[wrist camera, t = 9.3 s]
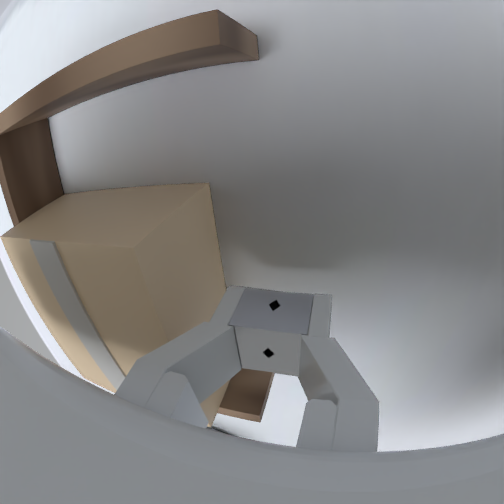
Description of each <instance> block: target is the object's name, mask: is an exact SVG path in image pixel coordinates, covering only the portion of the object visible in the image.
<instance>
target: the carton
mask: <svg viewBox="0 0 504 504" xmlns="http://www.w3.org/2000/svg"><path fill="white" fill-rule="evenodd" d="M1 239H2V242H3V244H4V247H5V249H6V251H7V254H8V256H9V258H10V260H11V263H12V265H13V267H14V269H15V271H16V273H17V275H18V277H19V279H20V281H21V283H22V285H23V287H24V289H25V291H26V292H27V294H28V296H29V298H30V300H31V301H32V303H33V305H34V307H35V308H36V310H37V312H38V313H39V315H40V317H41V318H42V320H43V322H44V323H45V325H46V326H47V328H48V329H49V331H50V332H51V334H52V336H53V337H54V338H55V340H56V341H57V343H58V344H59V346H60V347H61V349H62V350H63V351H64V353H65V354H66V356H67V357H68V358H69V360H70V361H71V362H72V364H73V365H74V366H75V367H76V369H77V370H78V371H79V373H80V374H81V375H82V376H83V377H84V378H85V379H87V380H89V381H91V382H93V383H95V384H97V385H99V386H101V387H103V388H106V389H108V390H110V391H112V392H114V393H116V391H117V390H118V388H119V387H120V385H121V383H122V382H123V380H124V379H125V377H126V376H127V374H128V373H129V371H130V370H131V368H132V367H133V365H134V363H135V362H136V360H137V359H139V358H141V357H142V356H144V355H146V354H148V353H150V352H152V351H153V350H155V349H157V348H159V347H161V346H162V345H164V344H166V343H168V342H169V341H171V340H173V339H175V338H177V337H178V336H180V335H182V334H184V333H185V332H187V331H189V330H191V329H192V328H194V327H196V326H198V325H199V324H201V323H203V322H209V321H210V320H211V318H212V316H213V314H214V312H215V310H216V308H217V306H218V305H219V303H220V301H221V299H222V297H223V295H224V293H225V291H226V285H225V279H224V273H223V267H222V261H221V255H220V249H219V243H218V237H217V231H216V225H215V218H214V212H213V205H212V199H211V192H210V185H209V183H188V184H167V185H151V186H137V187H125V188H114V189H104V190H94V191H85V192H77V193H69V194H64V195H63V196H61V197H59V198H57V199H56V200H54V201H53V202H51V203H49V204H48V205H46V206H44V207H43V208H41V209H40V210H38V211H37V212H35V213H33V214H32V215H30V216H29V217H27V218H26V219H24V220H23V221H22V222H20V223H19V224H17V225H16V226H14V227H13V228H12V229H10V230H9V231H7V232H6V233H5V234H3V235H2V236H1ZM229 381H230V380H229ZM229 381H227V382H226V383H225V384H224V385H223V386H221V387H220V388H219V389H218V390H216V391H215V392H214V393H213V394H212V395H210V396H209V397H208V398H207V399H205V400H204V401H203V402H202V403H200V406H201V408H202V410H203V412H204V414H205V416H206V418H207V420H208V422H209V423H208V425H207V427H211V426H212V424H213V421H214V419H215V416H216V414H217V412H218V409H219V407H220V404H221V402H222V399H223V397H224V394H225V392H226V389H227V387H228V384H229Z"/></svg>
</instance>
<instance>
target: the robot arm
mask: <svg viewBox="0 0 504 504" xmlns="http://www.w3.org/2000/svg"><path fill="white" fill-rule="evenodd" d="M331 309H332V295H330V294H307V293H295V292H283V291H275V290H266V289H258V288H250V287H247V288H246V287H240V286H233V285H231V286H229V287H228V288H227V290H226V291H225V293H224V295H223V297H222V299H221V301H220V303H219V305H218V306H217V308H216V310H215V312H214V314H213V316H212V318H211V320H210V321H209V322H203V323H201V324H199V325H198V326H196V327H194V328H192V329H191V330H189V331H187V332H185V333H184V334H182V335H180V336H178V337H177V338H175V339H173V340H171V341H169V342H168V343H166V344H164V345H162V346H161V347H159V348H157V349H155V350H153V351H152V352H150V353H148V354H146V355H144V356H142V357H141V358H139V359H137V360H136V362H135V363H134V365H133V367H132V368H131V370H130V371H129V373H128V374H127V376H126V377H125V379H124V380H123V382H122V383H121V385H120V387H119V388H118V390H117V391H116V393H115V394H114V395H113V394H111V393H109V392H107V391H105V390H103V389H101V388H99V387H97V386H95V385H93V384H91V383H89V382H87V381H85V380H83V379H81V378H79V377H77V376H76V375H74V374H72V373H70V372H68V371H67V370H65V369H63V368H62V367H60V366H58V365H56V364H55V363H53V362H51V361H50V360H48V359H46V358H45V357H43V356H42V355H40V354H39V353H37V352H36V351H34V350H33V349H31V348H30V347H29V346H27V345H25V344H24V343H23V342H21V341H20V340H19V339H17V338H16V337H14V336H13V335H12V334H10V333H9V332H8V331H6V330H5V329H4V328H3V327H1V326H0V504H504V434H501V435H497V436H494V437H490V438H486V439H481V440H477V441H472V442H467V443H462V444H456V445H450V446H444V447H436V448H428V449H418V450H406V451H385V452H377V446H378V427H379V401H378V399H377V398H376V396H375V395H374V393H373V392H372V391H371V389H370V388H369V386H368V385H367V383H366V382H365V380H364V379H363V378H362V376H361V375H360V373H359V372H358V370H357V369H356V368H355V366H354V365H353V363H352V362H351V360H350V359H349V358H348V356H347V355H346V353H345V352H344V351H343V349H342V348H341V346H340V345H339V343H338V342H337V341H336V339H335V338H329V334H330V322H331ZM241 368H245V369H251V370H259V371H266V372H273V373H279V374H285V375H292V376H298V378H299V380H300V383H301V385H302V387H303V390H304V392H305V394H306V396H307V399H308V402H307V403H306V406H305V411H304V415H303V420H302V424H301V429H300V433H299V437H298V441H297V445H296V447H292V446H285V445H278V444H272V443H266V442H261V441H256V440H251V439H246V438H241V437H237V436H232V435H228V434H224V433H220V432H216V431H213V430H209V429H206V428H207V425H208V423H209V422H208V420H207V418H206V416H205V414H204V412H203V410H202V408H201V406H200V403H202V402H203V401H204V400H205V399H207V398H208V397H209V396H210V395H212V394H213V393H214V392H215V391H216V390H218V389H219V388H220V387H221V386H223V385H224V384H225V383H226V382H227V381H229V380H230V379H231V378H232V377H233V376H234V375H236V374H237V373H238V372H239V371H240V370H241Z"/></svg>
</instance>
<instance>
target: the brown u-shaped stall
mask: <svg viewBox="0 0 504 504" xmlns="http://www.w3.org/2000/svg"><path fill="white" fill-rule="evenodd" d="M252 60H259V56H258V44H257V35H255V34H254V33H252V32H251V31H250V30H248V29H247V28H245V27H244V26H242V25H241V24H239V23H238V22H236V21H235V20H233V19H232V18H230V17H229V16H227V15H225V14H224V13H222V12H221V11H219V10H212V11H208V12H203V13H199V14H195V15H191V16H187V17H184V18H180V19H177V20H173V21H170V22H167V23H164V24H161V25H158V26H155V27H152V28H149V29H146V30H143V31H141V32H138V33H136V34H133V35H130V36H128V37H126V38H123V39H121V40H118V41H116V42H114V43H112V44H109V45H107V46H105V47H103V48H101V49H99V50H97V51H95V52H93V53H91V54H89V55H87V56H85V57H83V58H81V59H79V60H78V61H76V62H74V63H72V64H70V65H69V66H67V67H65V68H64V69H62V70H60V71H59V72H57V73H55V74H54V75H52V76H51V77H49V78H47V79H46V80H44V81H43V82H41V83H40V84H38V85H37V86H36V87H34V88H33V89H31V90H30V91H28V92H27V93H26V94H24V95H23V96H22V97H20V98H19V99H18V100H16V101H15V102H14V103H13V104H11V105H10V106H9V107H8V108H6V109H5V110H4V111H3V112H1V113H0V184H1V187H2V191H3V194H4V198H5V201H6V204H7V207H8V210H9V213H10V216H11V219H12V222H13V225H14V226H16V225H17V224H19V223H20V222H22V221H23V220H24V219H26V218H27V217H29V216H30V215H32V214H33V213H35V212H37V211H38V210H40V209H41V208H43V207H44V206H46V205H48V204H49V203H51V202H53V201H54V200H56V199H57V198H59V197H61V196H63V195H64V192H63V189H62V185H61V181H60V177H59V173H58V169H57V165H56V161H55V156H54V151H53V146H52V141H51V136H50V130H49V124H48V118H49V117H51V116H53V115H55V114H57V113H59V112H61V111H63V110H66V109H68V108H70V107H72V106H75V105H77V104H79V103H82V102H84V101H87V100H89V99H92V98H94V97H97V96H100V95H102V94H105V93H108V92H111V91H113V90H116V89H119V88H122V87H125V86H129V85H132V84H135V83H138V82H142V81H145V80H149V79H153V78H156V77H160V76H164V75H168V74H173V73H177V72H182V71H186V70H191V69H196V68H202V67H207V66H213V65H220V64H227V63H234V62H243V61H252ZM274 374H275V373H273V372H266V371H259V370H251V369H245V368H241V370H240V371H239V372H238V373H237V374H236V375H234V376H233V377H232V378H231V379H230V381H229V384H228V387H227V389H226V392H225V394H224V397H223V399H222V402H221V404H220V407H219V409H218V412H217V413H220V414H224V415H228V416H232V417H237V418H241V419H246V420H251V421H256V422H261V419H262V416H263V412H264V409H265V406H266V402H267V399H268V395H269V392H270V388H271V384H272V381H273V377H274Z"/></svg>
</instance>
